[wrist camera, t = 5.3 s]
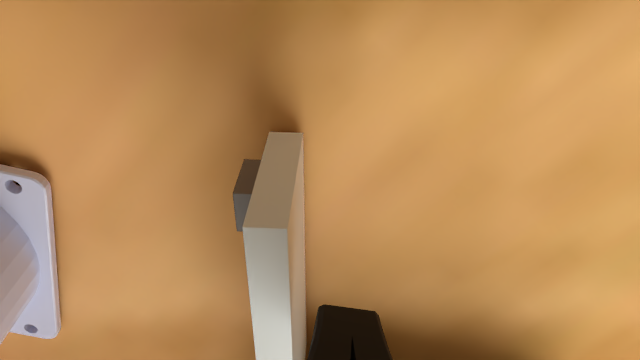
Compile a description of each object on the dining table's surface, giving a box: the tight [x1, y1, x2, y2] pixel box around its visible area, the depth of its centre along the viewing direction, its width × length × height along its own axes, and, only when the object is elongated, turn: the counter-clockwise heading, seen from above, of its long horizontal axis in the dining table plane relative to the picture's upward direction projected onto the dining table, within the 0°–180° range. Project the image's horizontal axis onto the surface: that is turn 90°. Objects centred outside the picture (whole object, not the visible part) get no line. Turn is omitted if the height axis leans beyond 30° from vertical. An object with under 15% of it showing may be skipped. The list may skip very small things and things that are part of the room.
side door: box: [233, 132, 307, 360], centre depth 16 cm, size 10×2×4 cm, turn 0°
